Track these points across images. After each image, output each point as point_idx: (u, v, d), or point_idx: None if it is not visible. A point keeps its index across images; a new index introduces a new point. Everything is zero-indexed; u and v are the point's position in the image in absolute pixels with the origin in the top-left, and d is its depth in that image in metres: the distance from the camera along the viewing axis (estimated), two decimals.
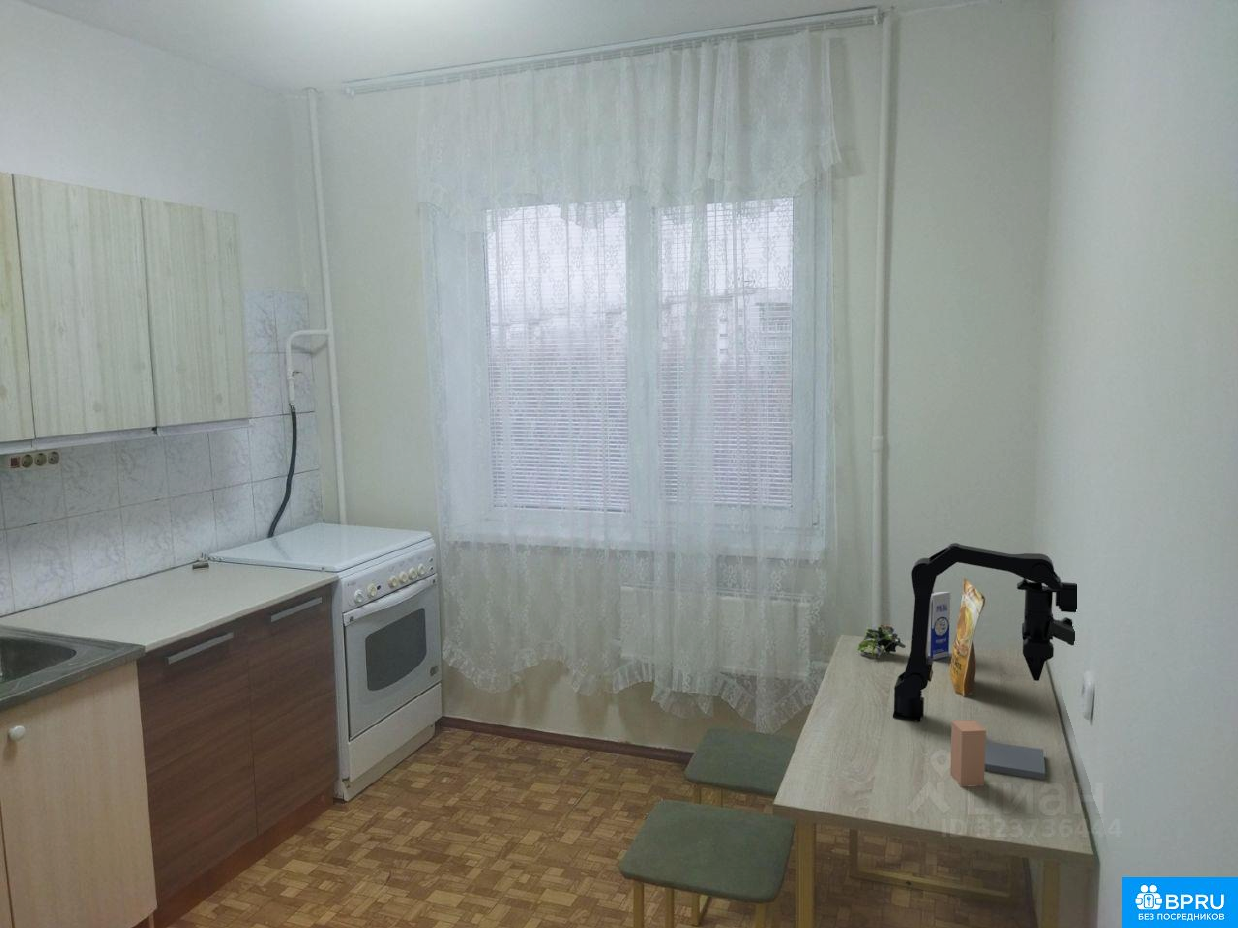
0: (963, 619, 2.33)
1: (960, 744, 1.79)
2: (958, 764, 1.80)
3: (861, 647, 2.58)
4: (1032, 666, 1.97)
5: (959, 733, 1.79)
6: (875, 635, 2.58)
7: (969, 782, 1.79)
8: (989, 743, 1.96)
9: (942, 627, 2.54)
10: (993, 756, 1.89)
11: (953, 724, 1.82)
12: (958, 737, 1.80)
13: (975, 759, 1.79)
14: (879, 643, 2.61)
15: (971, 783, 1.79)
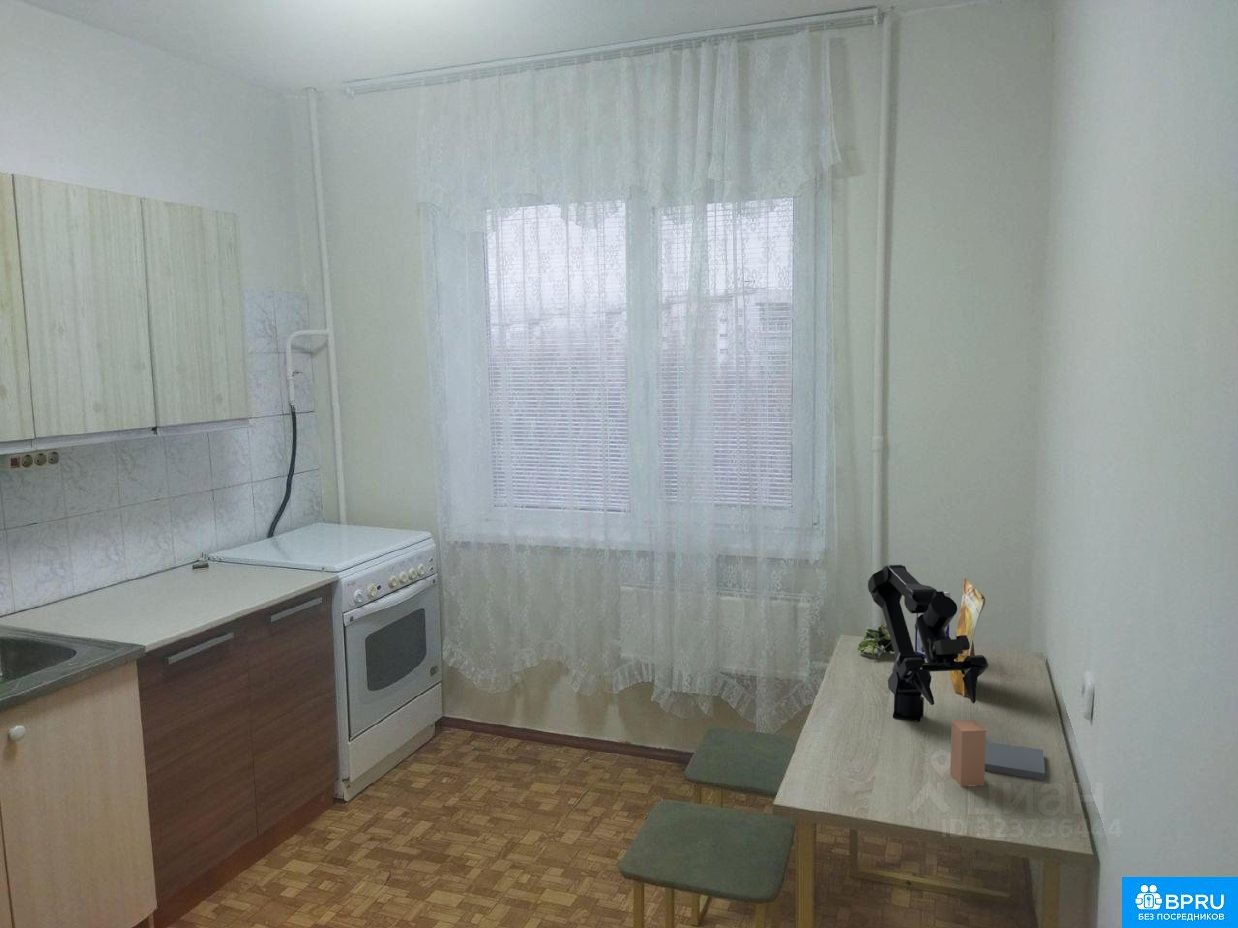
0: (963, 619, 2.33)
1: (960, 744, 1.79)
2: (958, 764, 1.80)
3: (861, 647, 2.59)
4: (921, 690, 1.91)
5: (959, 733, 1.79)
6: (875, 635, 2.58)
7: (969, 782, 1.79)
8: (989, 743, 1.96)
9: None
10: (993, 756, 1.89)
11: (953, 724, 1.82)
12: (958, 737, 1.80)
13: (975, 759, 1.79)
14: (879, 643, 2.61)
15: (971, 783, 1.79)
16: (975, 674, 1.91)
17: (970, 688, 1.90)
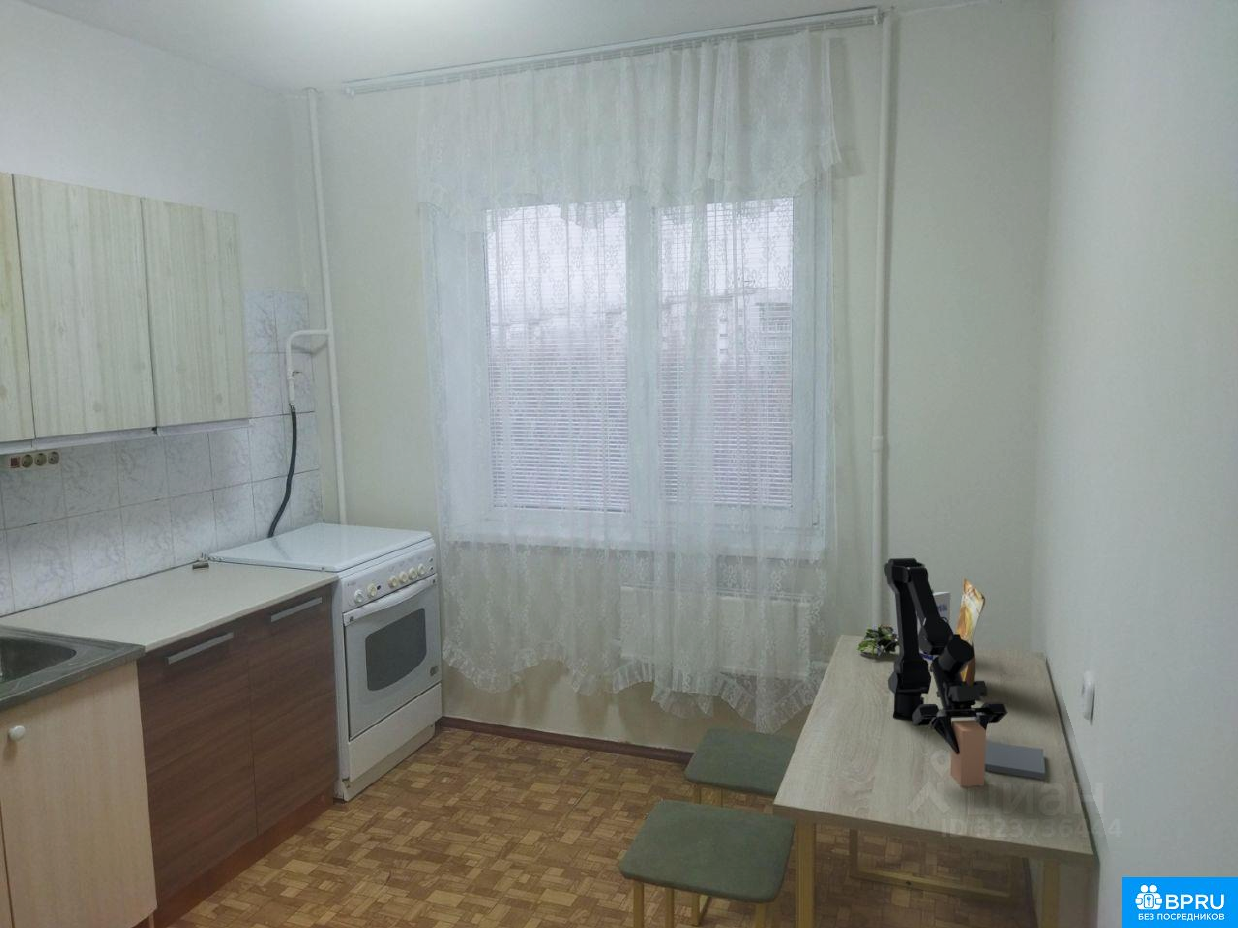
0: (963, 619, 2.33)
1: (960, 744, 1.79)
2: (958, 764, 1.80)
3: (861, 647, 2.59)
4: (946, 738, 1.83)
5: (959, 733, 1.79)
6: (875, 635, 2.58)
7: (969, 782, 1.79)
8: (989, 743, 1.96)
9: None
10: (993, 756, 1.89)
11: (953, 724, 1.82)
12: (958, 737, 1.80)
13: (975, 759, 1.79)
14: (879, 643, 2.61)
15: (971, 783, 1.79)
16: (984, 722, 1.82)
17: None
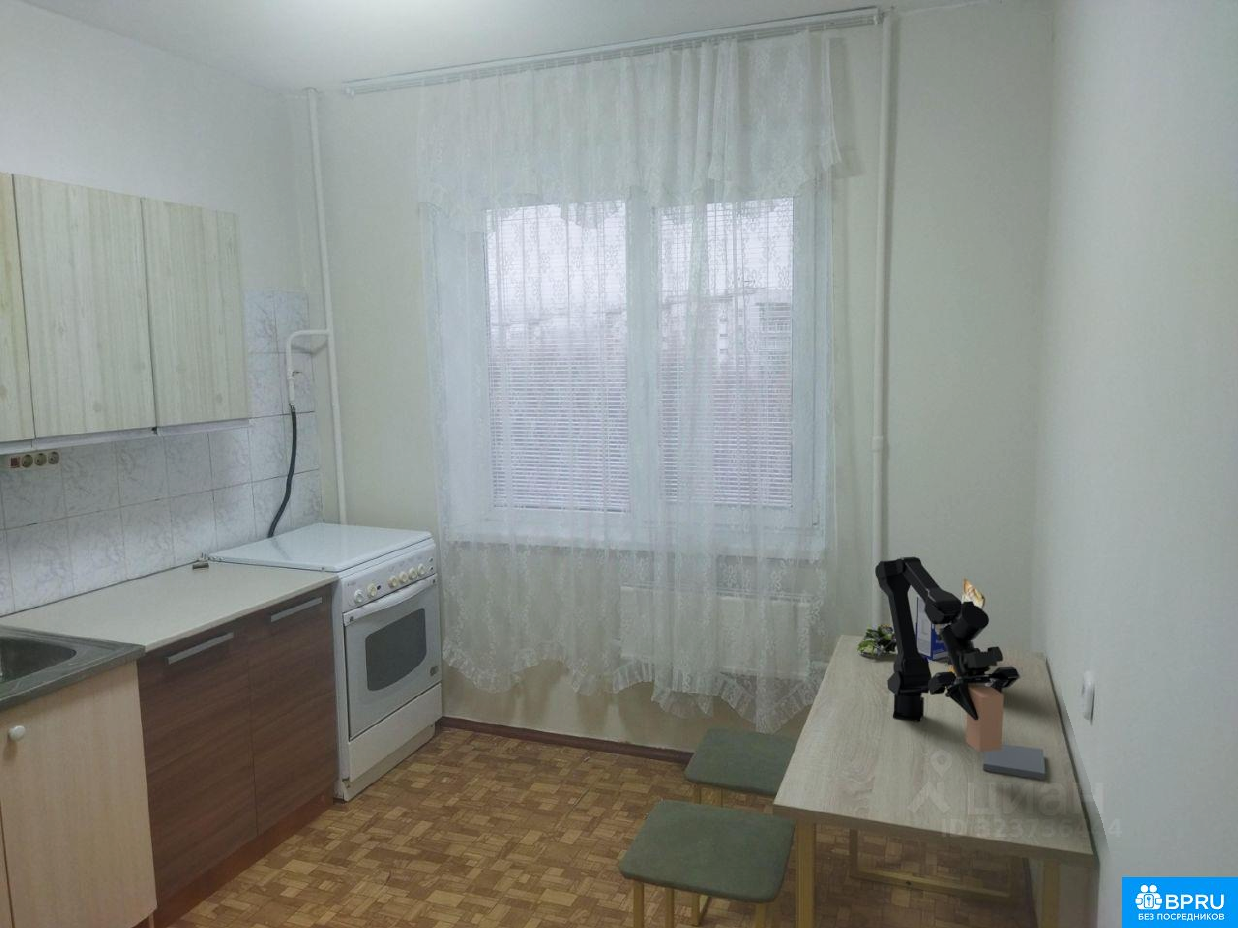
0: None
1: (979, 710, 1.79)
2: (976, 730, 1.80)
3: (861, 647, 2.59)
4: (963, 705, 1.83)
5: (977, 699, 1.80)
6: (875, 635, 2.58)
7: (988, 748, 1.80)
8: None
9: (942, 627, 2.54)
10: (993, 756, 1.89)
11: (970, 691, 1.82)
12: (977, 703, 1.80)
13: (993, 724, 1.80)
14: (879, 643, 2.61)
15: (989, 748, 1.80)
16: (999, 687, 1.83)
17: None
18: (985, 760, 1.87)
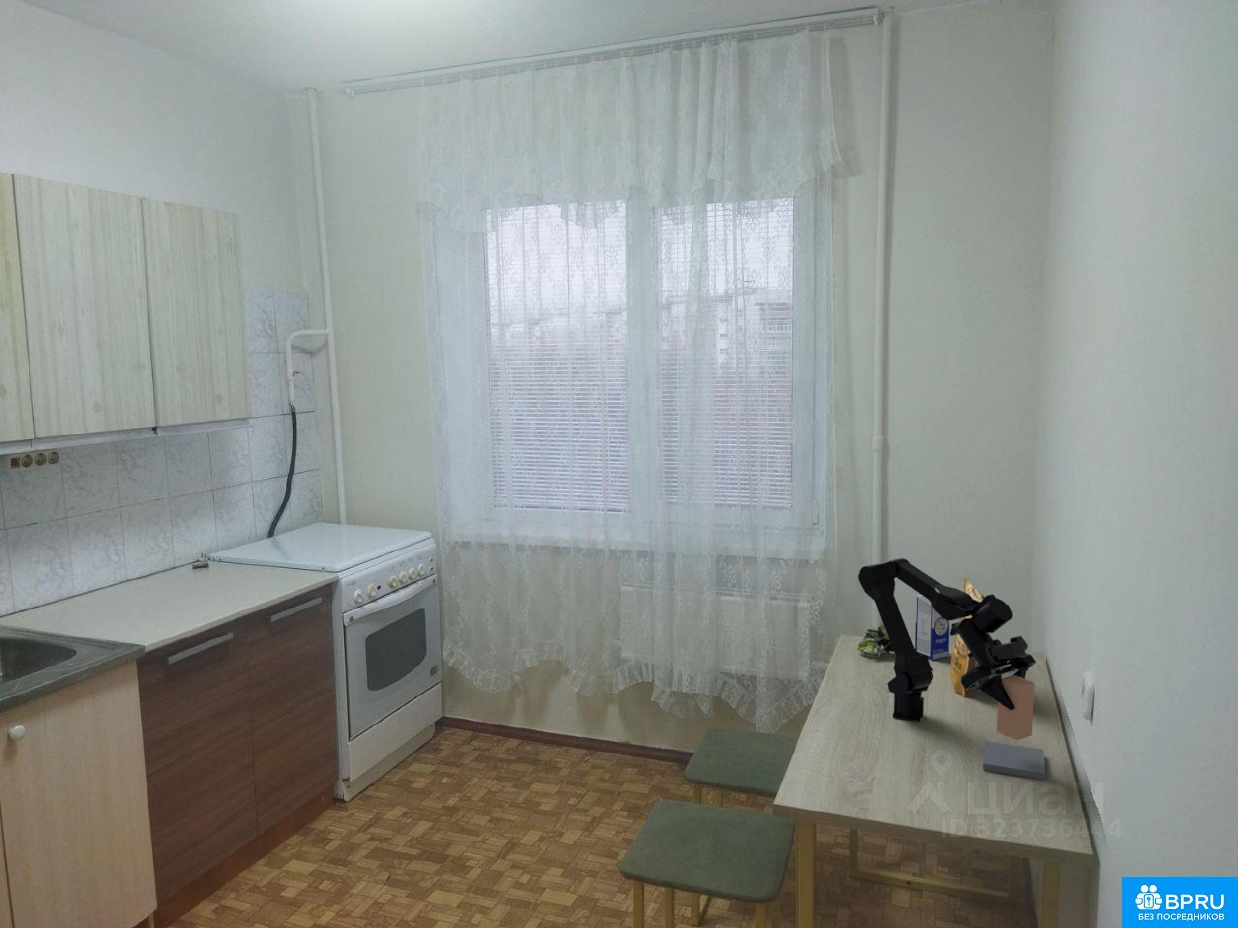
0: None
1: (1016, 700, 1.85)
2: (1012, 719, 1.86)
3: (861, 647, 2.59)
4: (996, 696, 1.87)
5: (1013, 689, 1.85)
6: (874, 635, 2.58)
7: (1022, 735, 1.86)
8: (989, 743, 1.96)
9: (942, 627, 2.54)
10: (993, 756, 1.89)
11: (1002, 682, 1.87)
12: (1012, 694, 1.85)
13: (1027, 712, 1.86)
14: (878, 643, 2.61)
15: (1023, 735, 1.86)
16: (1023, 675, 1.90)
17: None
18: (985, 760, 1.87)
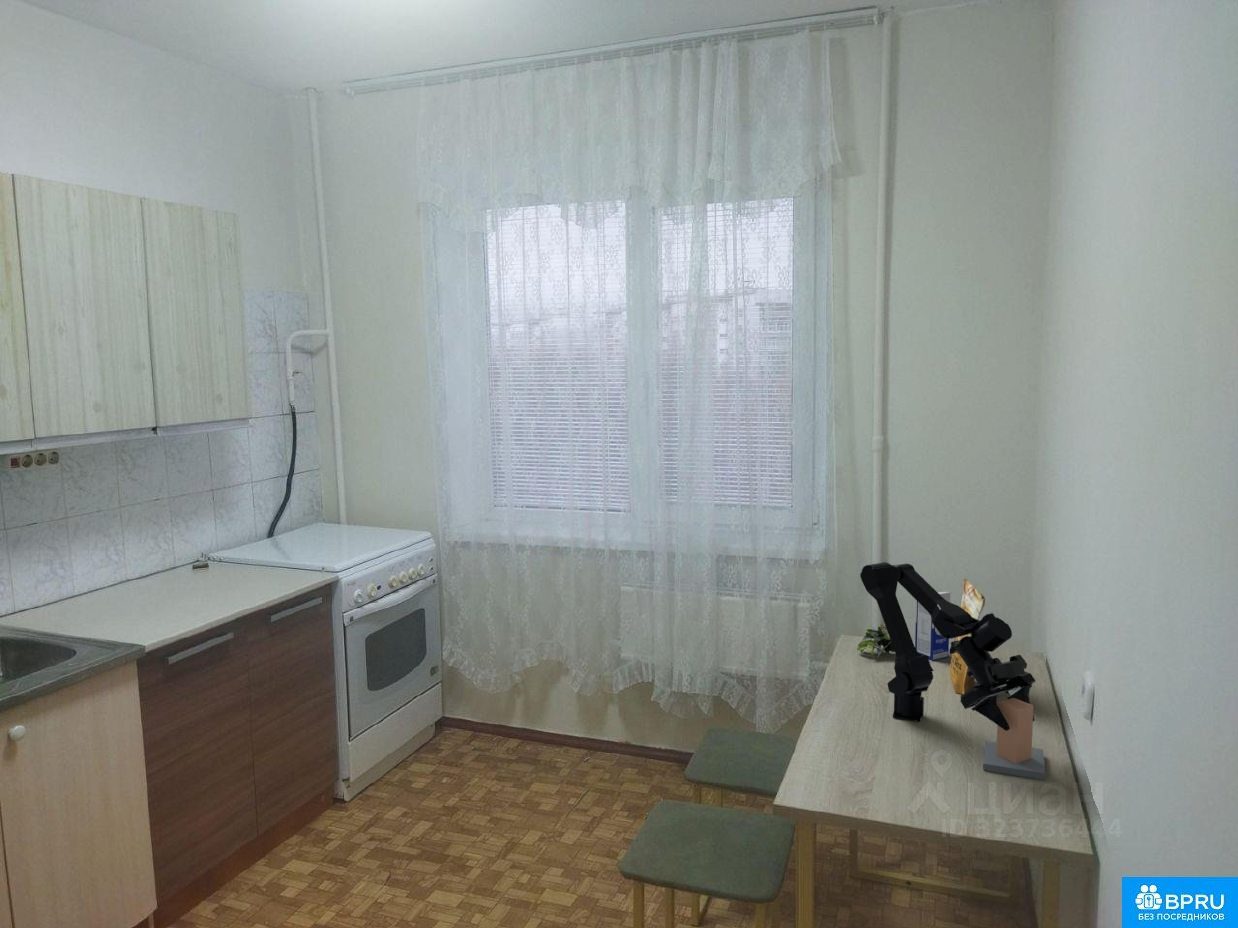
0: None
1: (1015, 723, 1.85)
2: (1012, 742, 1.86)
3: (860, 647, 2.59)
4: (991, 717, 1.87)
5: (1013, 713, 1.85)
6: (874, 635, 2.58)
7: (1022, 758, 1.87)
8: (989, 743, 1.96)
9: None
10: (993, 756, 1.89)
11: (1001, 705, 1.88)
12: (1011, 717, 1.86)
13: (1026, 735, 1.86)
14: (878, 643, 2.61)
15: (1023, 758, 1.87)
16: (1027, 692, 1.91)
17: None
18: (985, 760, 1.87)
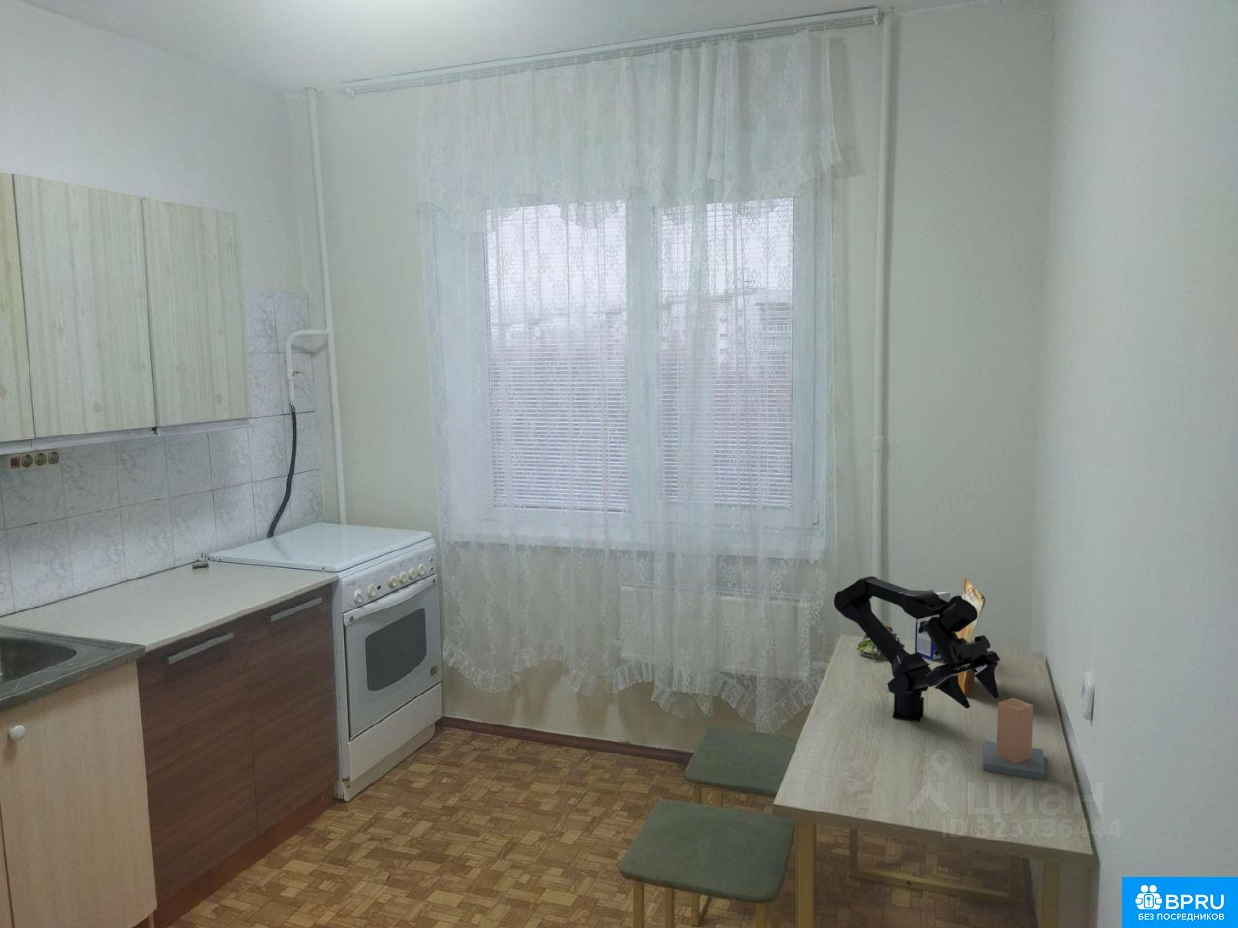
0: None
1: (1015, 723, 1.85)
2: (1012, 742, 1.86)
3: (860, 647, 2.59)
4: (953, 695, 1.95)
5: (1013, 713, 1.85)
6: None
7: (1022, 758, 1.87)
8: (989, 743, 1.96)
9: None
10: (993, 756, 1.89)
11: (1001, 705, 1.88)
12: (1011, 717, 1.86)
13: (1026, 735, 1.86)
14: None
15: (1023, 758, 1.87)
16: (992, 670, 1.99)
17: (990, 684, 1.99)
18: (985, 760, 1.87)
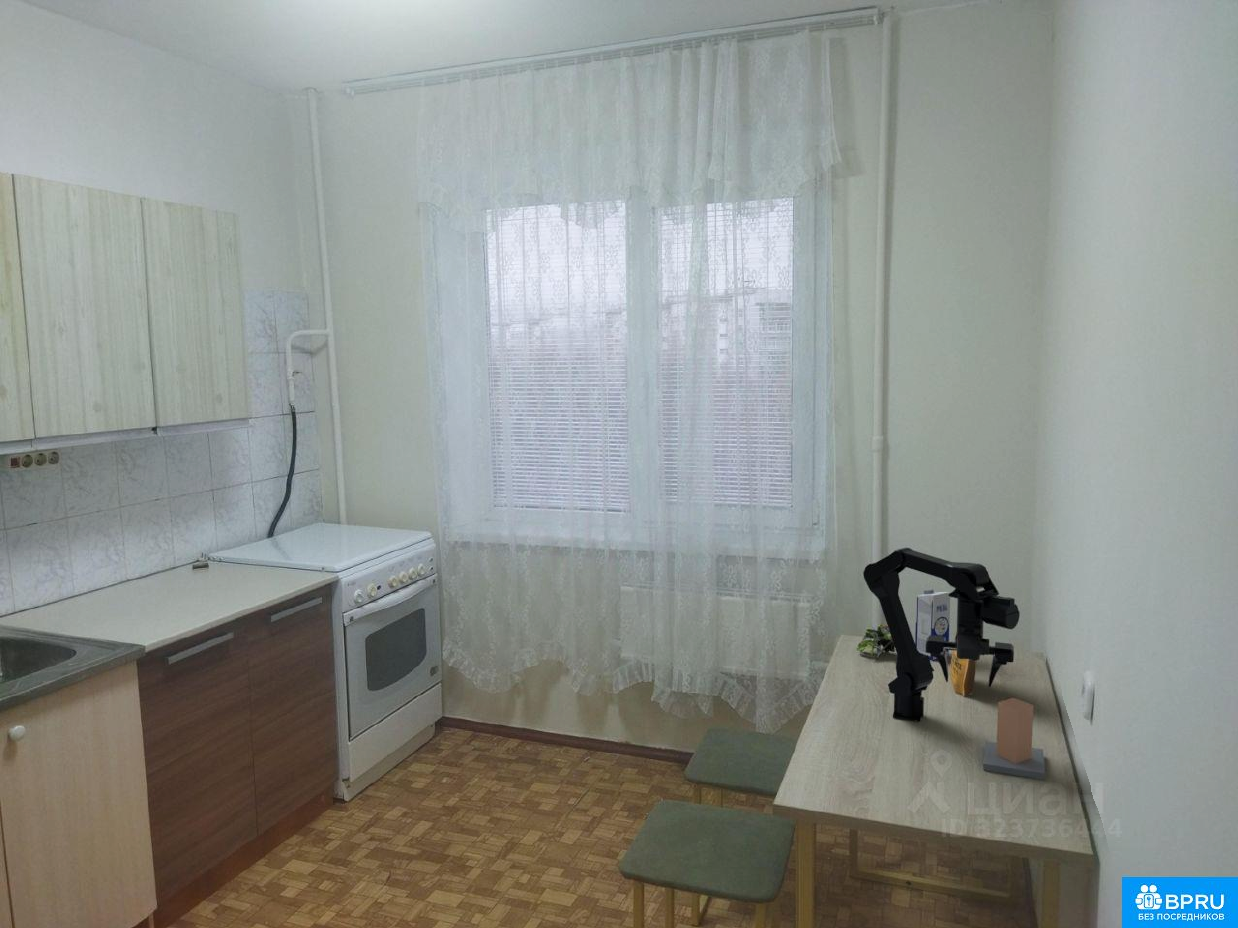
0: None
1: (1015, 723, 1.85)
2: (1012, 742, 1.86)
3: (860, 647, 2.59)
4: None
5: (1013, 713, 1.85)
6: (874, 635, 2.58)
7: (1022, 758, 1.87)
8: (989, 743, 1.96)
9: (942, 627, 2.54)
10: (993, 756, 1.89)
11: (1001, 705, 1.88)
12: (1011, 717, 1.86)
13: (1026, 735, 1.86)
14: (878, 643, 2.61)
15: (1023, 758, 1.87)
16: (997, 666, 1.96)
17: (990, 674, 1.98)
18: (985, 760, 1.87)
